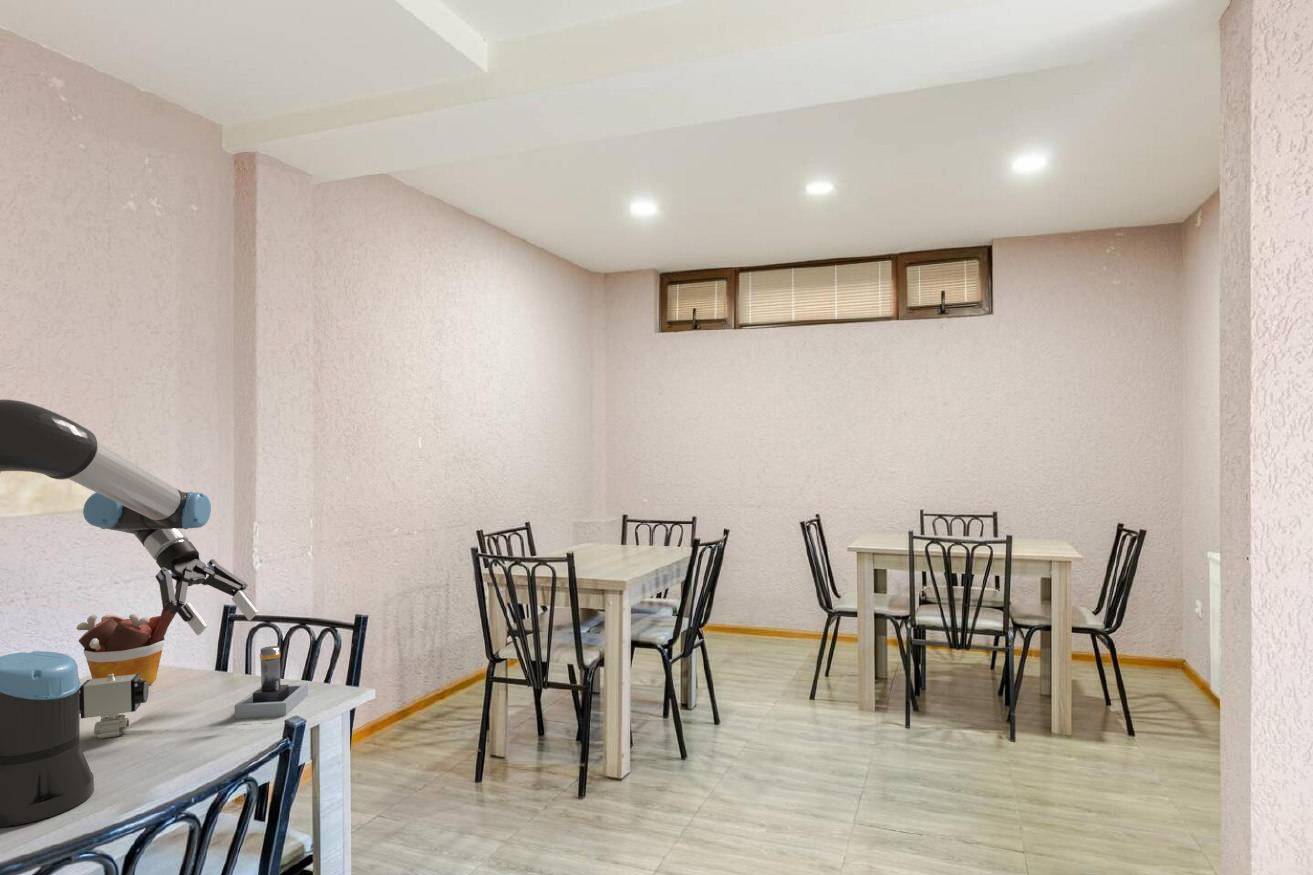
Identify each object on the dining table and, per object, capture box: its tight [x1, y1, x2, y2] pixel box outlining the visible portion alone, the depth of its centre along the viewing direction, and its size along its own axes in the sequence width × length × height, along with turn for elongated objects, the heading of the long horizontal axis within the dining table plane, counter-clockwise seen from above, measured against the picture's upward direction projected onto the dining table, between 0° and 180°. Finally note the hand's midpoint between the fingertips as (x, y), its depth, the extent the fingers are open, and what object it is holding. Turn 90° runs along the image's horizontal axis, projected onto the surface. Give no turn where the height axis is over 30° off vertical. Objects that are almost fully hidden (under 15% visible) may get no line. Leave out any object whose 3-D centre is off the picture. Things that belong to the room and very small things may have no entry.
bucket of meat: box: [76, 609, 177, 686], centre depth 181 cm, size 20×16×20 cm
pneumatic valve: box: [79, 674, 150, 740], centre depth 151 cm, size 6×12×12 cm, turn 112°
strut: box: [253, 645, 290, 703], centre depth 160 cm, size 5×5×13 cm
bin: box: [234, 683, 309, 726], centre depth 161 cm, size 12×10×4 cm
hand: (229, 623), depth 163 cm, fingers open, 13 cm apart
